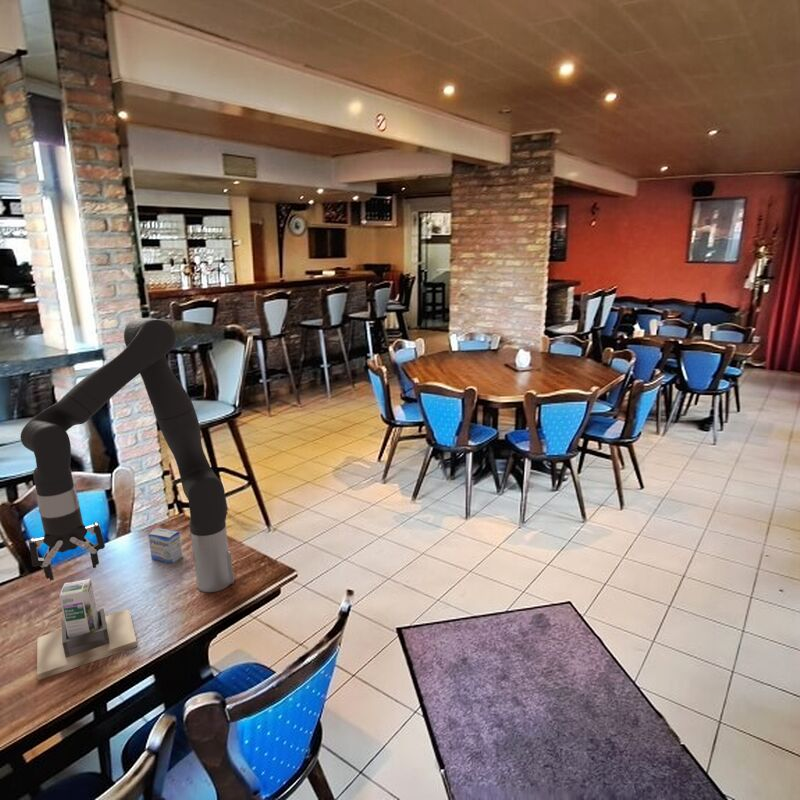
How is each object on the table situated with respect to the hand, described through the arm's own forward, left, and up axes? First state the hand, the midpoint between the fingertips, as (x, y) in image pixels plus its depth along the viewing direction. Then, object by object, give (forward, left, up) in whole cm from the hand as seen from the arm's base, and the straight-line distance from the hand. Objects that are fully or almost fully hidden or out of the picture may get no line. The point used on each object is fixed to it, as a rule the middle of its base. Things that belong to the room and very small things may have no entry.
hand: (73, 572), depth 128 cm
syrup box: (0, 0, -18) cm, 18 cm away
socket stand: (0, 0, -20) cm, 20 cm away
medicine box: (-23, -30, -20) cm, 43 cm away
